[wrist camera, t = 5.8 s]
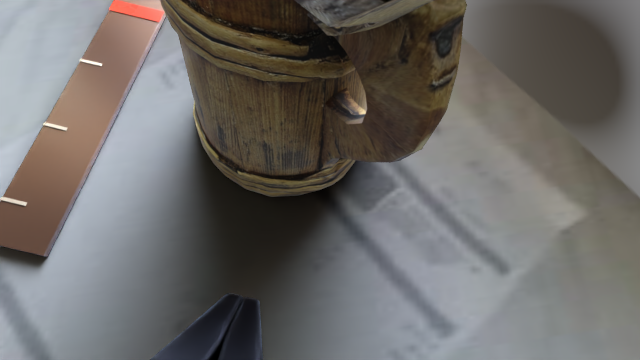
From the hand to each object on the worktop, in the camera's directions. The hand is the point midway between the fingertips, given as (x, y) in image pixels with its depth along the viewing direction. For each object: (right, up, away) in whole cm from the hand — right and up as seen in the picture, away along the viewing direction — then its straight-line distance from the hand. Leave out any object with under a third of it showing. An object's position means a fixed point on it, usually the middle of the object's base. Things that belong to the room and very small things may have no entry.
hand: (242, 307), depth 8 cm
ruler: (-10, +9, +10) cm, 17 cm away
